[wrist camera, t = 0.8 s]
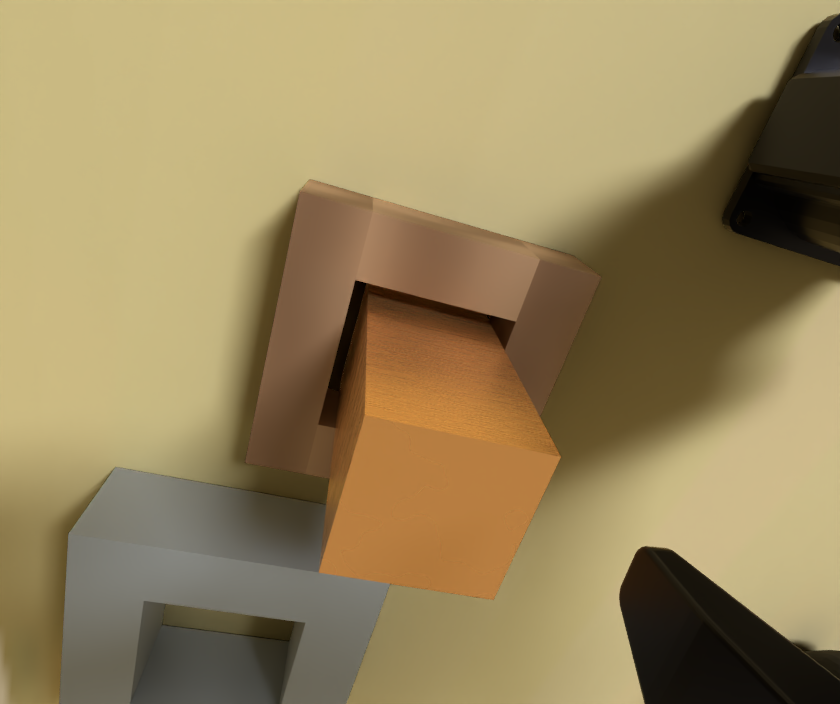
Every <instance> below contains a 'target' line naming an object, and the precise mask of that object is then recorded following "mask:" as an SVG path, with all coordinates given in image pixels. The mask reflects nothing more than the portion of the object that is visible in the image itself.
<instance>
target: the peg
mask: <svg viewBox="0 0 840 704" xmlns="http://www.w3.org/2000/svg"><path fill="white" fill-rule="evenodd" d="M560 458H561V456H560V454H559V452H558V450H557V448H556V446H555V445H554V443H553V441H552V439H551V437H550V435H549V433H548V431H547V429H546V428H545V426H544V424H543V422H542V420H541V418H540V416H539V414H538V412H537V411H536V409H535V407H534V405H533V403H532V401H531V399H530V397H529V395H528V394H527V392H526V390H525V388H524V386H523V384H522V382H521V380H520V378H519V377H518V375H517V373H516V371H515V369H514V367H513V365H512V363H511V361H510V360H509V358H508V356H507V354H506V352H505V350H504V348H503V346H502V345H501V343H500V341H499V339H498V337H497V335H496V333H495V331H494V329H493V328H492V326H491V324H490V322H489V320H488V318H487V316H486V314H484V313H481V312H477V311H473V310H469V309H465V308H461V307H457V306H454V305H450V304H446V303H442V302H438V301H434V300H430V299H427V298H423V297H419V296H415V295H411V294H407V293H403V292H400V291H396V290H392V289H388V288H384V287H380V286H376V285H373V284H369V283H366V287H365V291H364V295H363V298H362V302H361V306H360V310H359V313H358V317H357V321H356V325H355V328H354V332H353V336H352V340H351V343H350V347H349V351H348V355H347V358H346V362H345V366H344V370H343V373H342V377H341V384H340V392H339V401H338V410H337V418H336V427H335V435H334V444H333V453H332V461H331V470H330V478H329V487H328V496H327V504H326V513H325V521H324V530H323V539H322V547H321V556H320V564H319V573H324V574H330V575H337V576H343V577H350V578H356V579H363V580H369V581H375V582H382V583H388V584H395V585H401V586H408V587H414V588H421V589H427V590H434V591H440V592H447V593H453V594H459V595H466V596H472V597H479V598H485V599H492V600H494V598H495V596H496V593H497V591H498V589H499V587H500V585H501V583H502V581H503V579H504V577H505V574H506V572H507V570H508V568H509V566H510V564H511V562H512V560H513V558H514V555H515V553H516V551H517V549H518V547H519V545H520V543H521V541H522V539H523V536H524V534H525V532H526V530H527V528H528V526H529V524H530V522H531V520H532V517H533V515H534V513H535V511H536V509H537V507H538V505H539V503H540V501H541V498H542V496H543V494H544V492H545V490H546V488H547V486H548V484H549V482H550V479H551V477H552V475H553V473H554V471H555V469H556V467H557V465H558V463H559V460H560Z"/></svg>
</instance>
